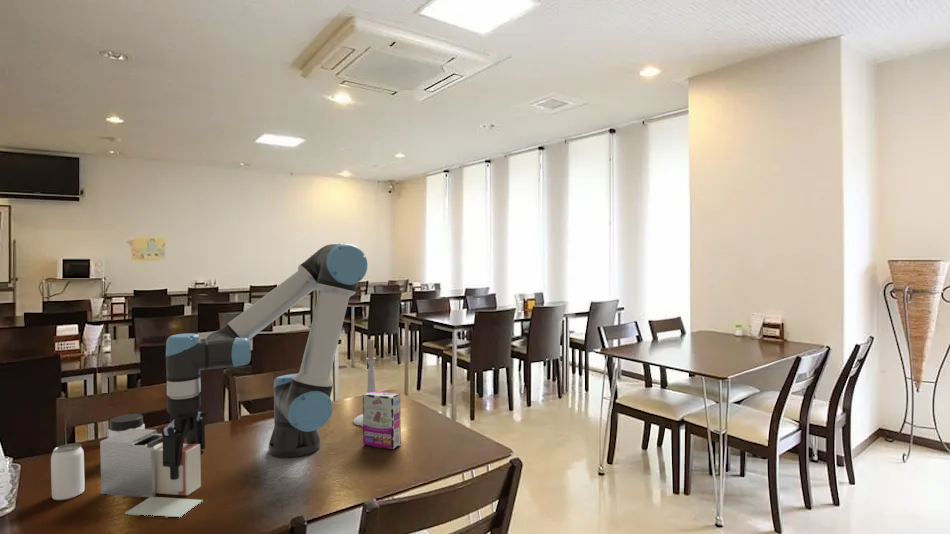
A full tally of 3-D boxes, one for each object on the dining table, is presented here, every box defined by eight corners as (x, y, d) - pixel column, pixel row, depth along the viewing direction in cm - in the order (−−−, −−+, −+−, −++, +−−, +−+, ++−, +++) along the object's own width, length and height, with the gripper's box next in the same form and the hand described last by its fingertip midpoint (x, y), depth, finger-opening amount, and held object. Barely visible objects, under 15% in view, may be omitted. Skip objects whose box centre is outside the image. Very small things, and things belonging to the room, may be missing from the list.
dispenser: (101, 494, 130) (100, 441, 129) (131, 478, 139) (129, 428, 139) (151, 497, 128) (150, 443, 127) (178, 480, 137) (177, 430, 137)
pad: (203, 501, 126) (203, 499, 126) (180, 518, 118) (180, 516, 118) (150, 498, 127) (150, 496, 127) (124, 514, 120) (124, 512, 120)
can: (63, 489, 132) (62, 443, 132) (90, 488, 133) (89, 442, 133) (45, 501, 126) (43, 453, 126) (73, 500, 126) (72, 452, 126)
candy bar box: (401, 445, 162) (401, 393, 162) (393, 450, 158) (392, 397, 157) (371, 440, 166) (370, 390, 166) (362, 445, 162) (362, 393, 161)
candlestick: (384, 427, 178) (384, 341, 178) (348, 427, 179) (347, 341, 178) (393, 416, 191) (392, 335, 190) (359, 415, 192) (358, 335, 191)
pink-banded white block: (201, 486, 134) (200, 444, 134) (187, 495, 129) (186, 451, 128) (152, 483, 136) (151, 441, 135) (137, 492, 131) (136, 448, 130)
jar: (108, 466, 147) (107, 424, 146) (109, 456, 154) (108, 417, 153) (145, 459, 152) (144, 418, 151) (145, 450, 158) (144, 411, 158)
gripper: (194, 385, 140) (195, 469, 141) (142, 405, 123) (144, 501, 123) (219, 386, 139) (221, 471, 140) (171, 406, 121) (173, 503, 122)
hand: (185, 485), depth 132 cm, fingers closed on pink-banded white block, 5 cm apart
